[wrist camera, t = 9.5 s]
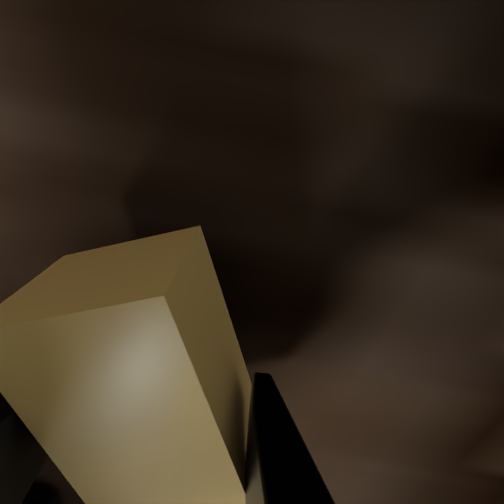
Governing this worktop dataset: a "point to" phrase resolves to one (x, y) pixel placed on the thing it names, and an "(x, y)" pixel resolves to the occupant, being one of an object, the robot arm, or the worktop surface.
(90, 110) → the worktop surface
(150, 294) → the tan rectangular prism
